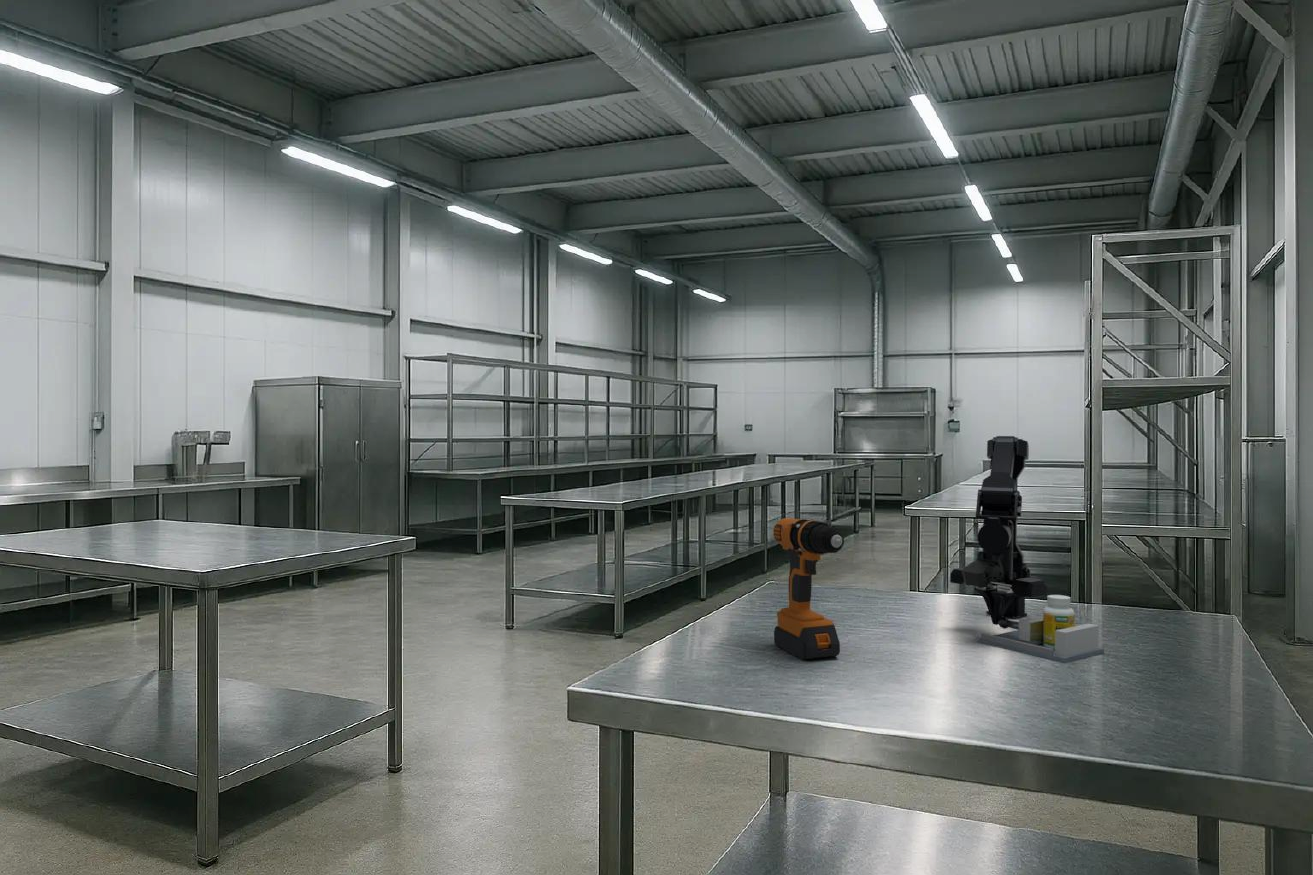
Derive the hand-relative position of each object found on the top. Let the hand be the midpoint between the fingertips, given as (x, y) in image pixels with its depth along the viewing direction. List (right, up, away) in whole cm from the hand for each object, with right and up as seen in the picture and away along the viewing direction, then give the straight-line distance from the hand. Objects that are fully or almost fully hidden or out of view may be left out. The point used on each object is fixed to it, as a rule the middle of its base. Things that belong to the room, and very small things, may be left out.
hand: (995, 624), depth 177 cm
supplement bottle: (+8, -2, -11) cm, 14 cm away
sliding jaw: (+3, -2, -5) cm, 6 cm away
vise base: (+5, -3, -8) cm, 10 cm away
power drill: (-40, -3, -15) cm, 42 cm away
